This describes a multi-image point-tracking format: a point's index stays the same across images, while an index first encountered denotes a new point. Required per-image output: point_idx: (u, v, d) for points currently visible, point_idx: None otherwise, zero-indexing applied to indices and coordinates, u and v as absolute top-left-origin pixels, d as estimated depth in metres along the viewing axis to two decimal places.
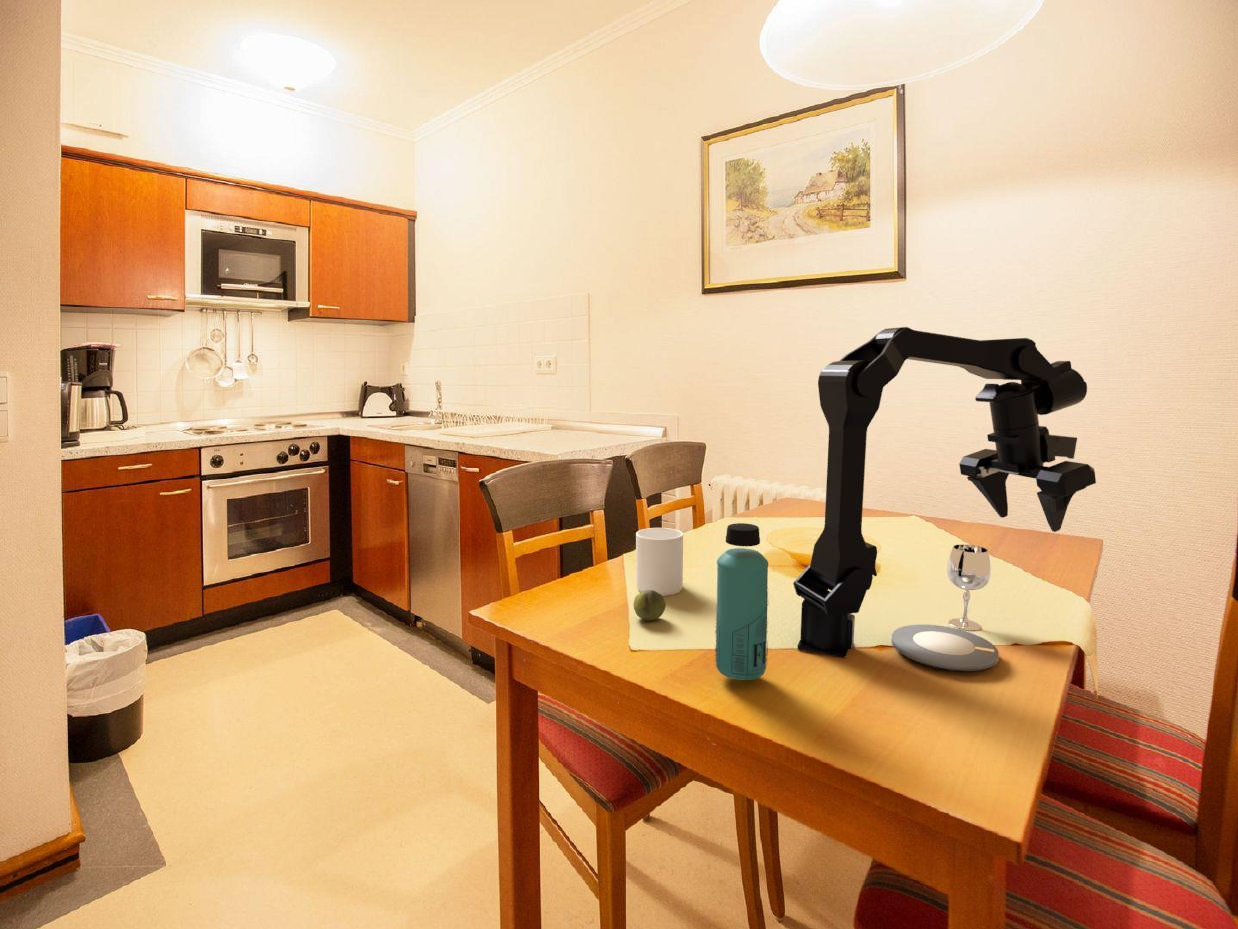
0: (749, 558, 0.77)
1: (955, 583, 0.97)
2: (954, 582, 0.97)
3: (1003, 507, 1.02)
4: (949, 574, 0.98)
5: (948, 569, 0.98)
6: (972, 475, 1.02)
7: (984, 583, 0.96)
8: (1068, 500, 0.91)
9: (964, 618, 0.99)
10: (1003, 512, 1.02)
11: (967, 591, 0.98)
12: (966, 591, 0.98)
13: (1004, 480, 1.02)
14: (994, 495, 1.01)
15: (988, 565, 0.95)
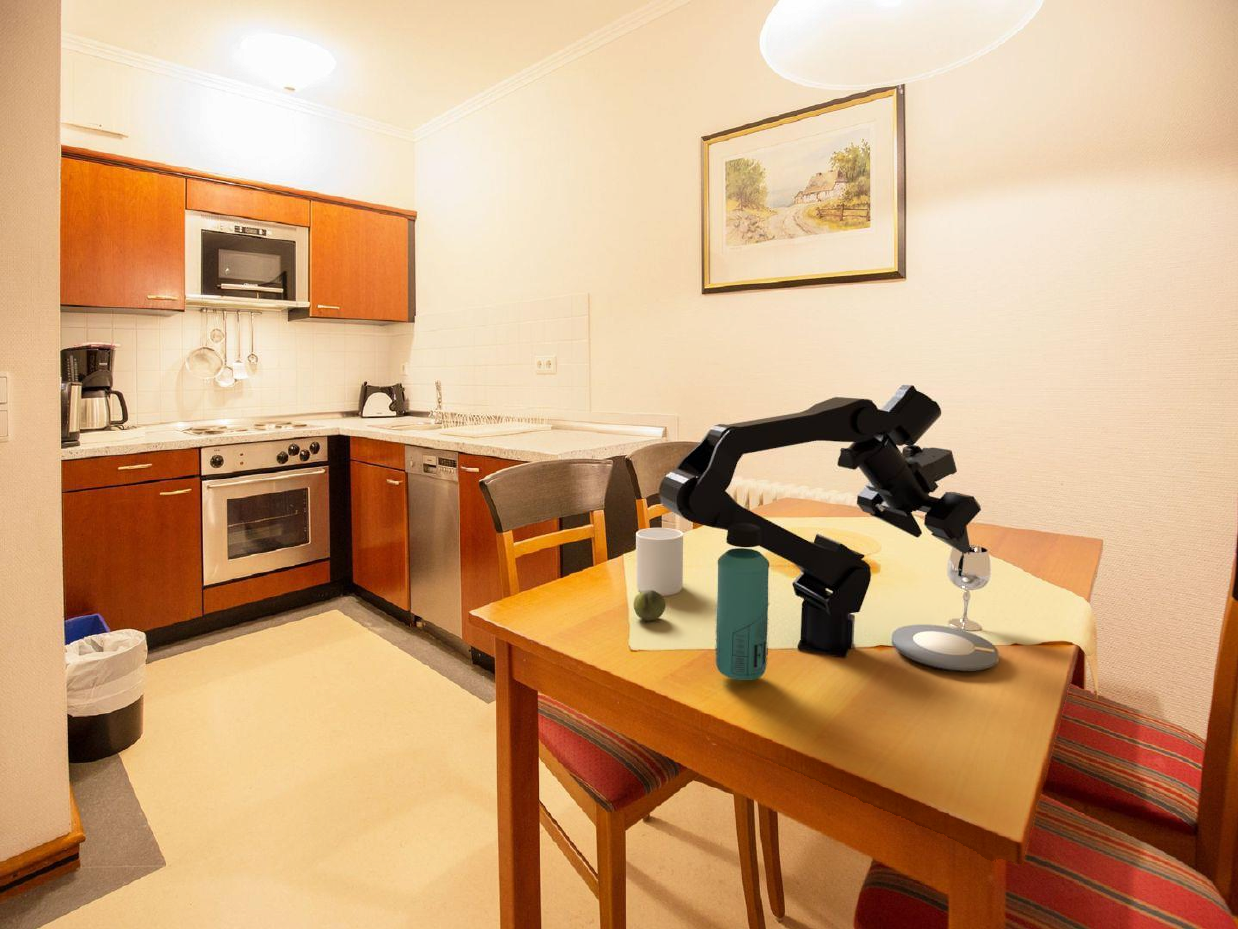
0: (750, 559, 0.77)
1: (955, 583, 0.97)
2: (954, 582, 0.97)
3: (914, 529, 0.99)
4: (949, 574, 0.98)
5: (948, 569, 0.98)
6: (872, 513, 0.99)
7: (984, 583, 0.96)
8: None
9: (964, 618, 0.99)
10: (916, 532, 0.99)
11: (967, 591, 0.98)
12: (966, 591, 0.98)
13: None
14: (901, 522, 0.99)
15: (988, 565, 0.95)
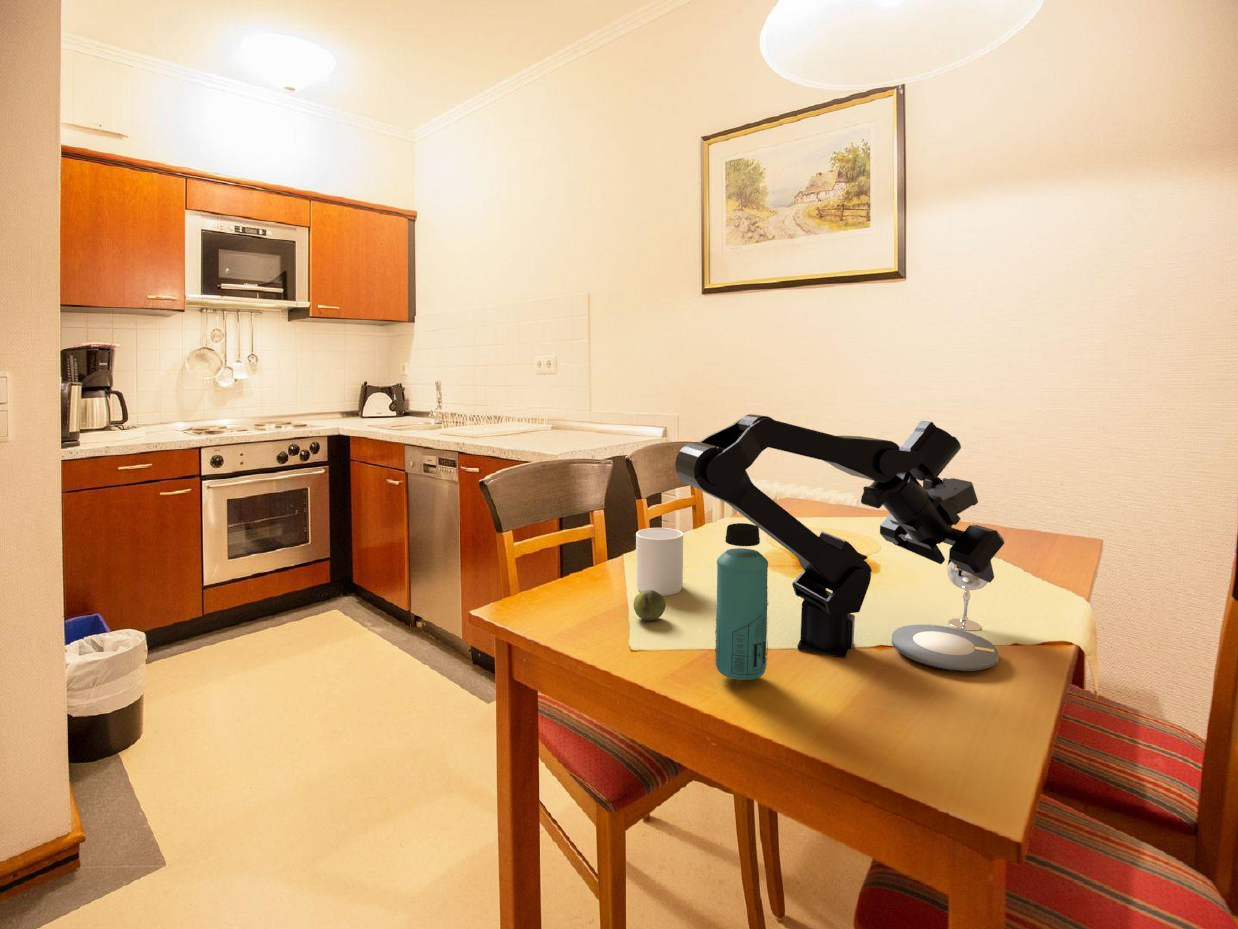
0: (749, 558, 0.77)
1: (955, 583, 0.97)
2: (954, 582, 0.97)
3: (937, 556, 1.01)
4: (949, 574, 0.98)
5: (948, 569, 0.98)
6: (896, 543, 1.01)
7: (984, 583, 0.96)
8: None
9: (964, 618, 0.99)
10: (940, 559, 1.02)
11: (967, 591, 0.98)
12: (966, 591, 0.98)
13: None
14: (924, 551, 1.01)
15: None
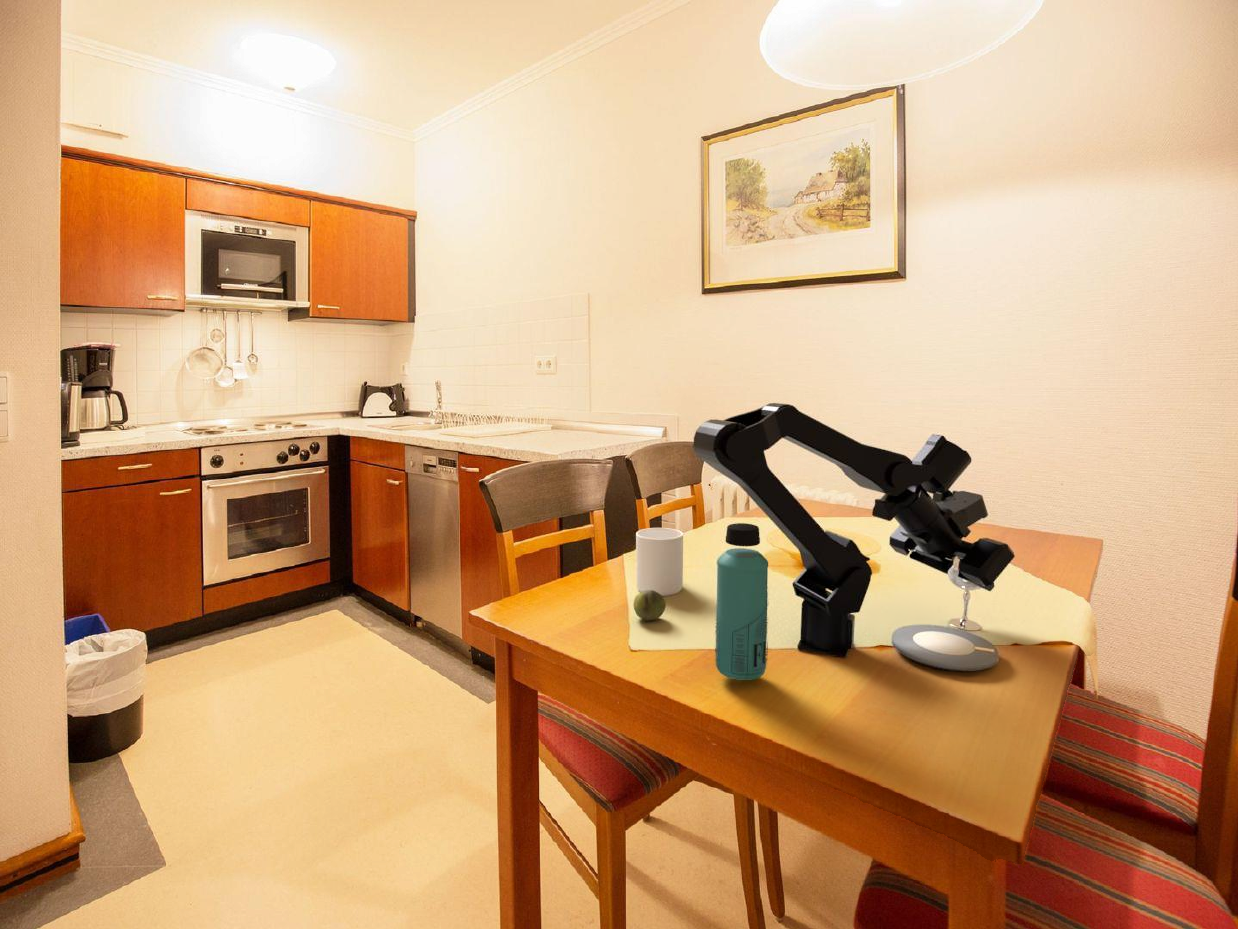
0: (749, 558, 0.77)
1: (955, 583, 0.97)
2: (954, 582, 0.97)
3: None
4: (949, 574, 0.98)
5: (948, 569, 0.98)
6: (905, 554, 1.02)
7: None
8: None
9: (964, 618, 0.99)
10: None
11: (967, 591, 0.98)
12: (966, 591, 0.98)
13: None
14: (941, 565, 1.00)
15: None
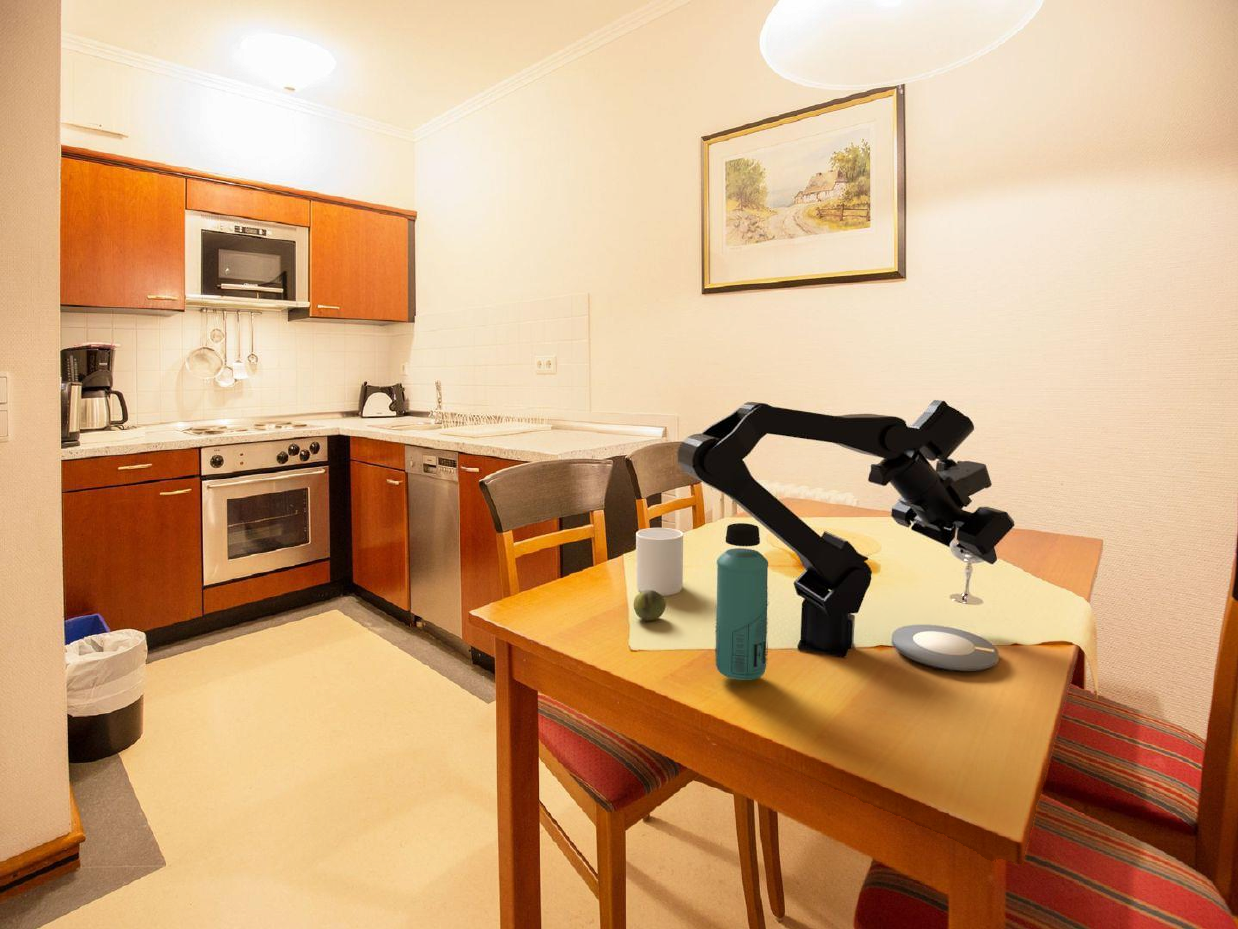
0: (749, 558, 0.77)
1: (956, 555, 0.94)
2: (955, 554, 0.95)
3: None
4: (951, 546, 0.95)
5: (950, 541, 0.96)
6: (907, 526, 0.99)
7: None
8: None
9: (966, 592, 0.96)
10: None
11: (969, 564, 0.95)
12: (968, 564, 0.95)
13: None
14: (943, 538, 0.97)
15: None
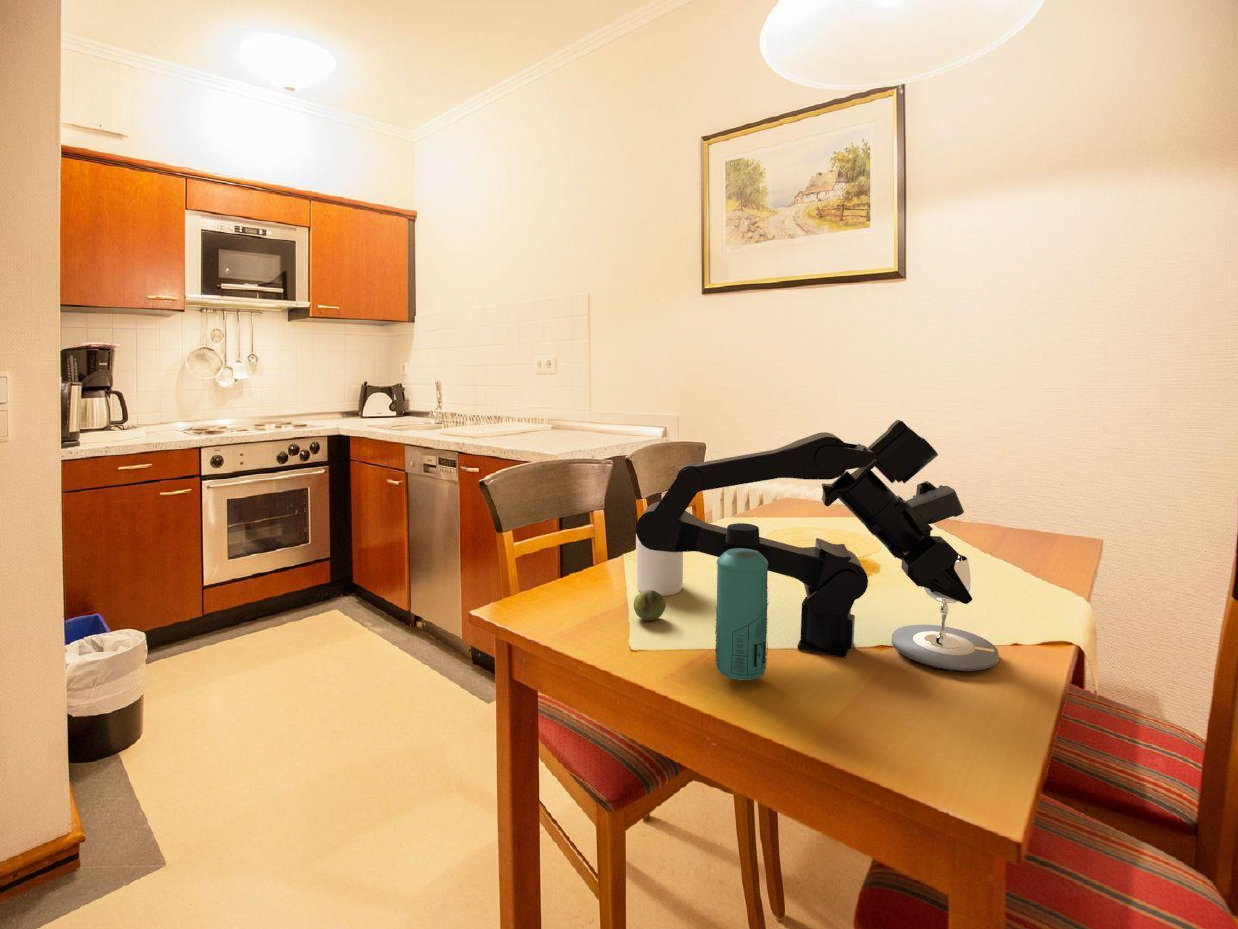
0: (749, 558, 0.77)
1: (926, 592, 0.88)
2: None
3: None
4: None
5: None
6: None
7: None
8: (953, 574, 0.81)
9: (940, 634, 0.89)
10: None
11: (944, 604, 0.88)
12: (943, 603, 0.88)
13: None
14: None
15: (960, 576, 0.85)
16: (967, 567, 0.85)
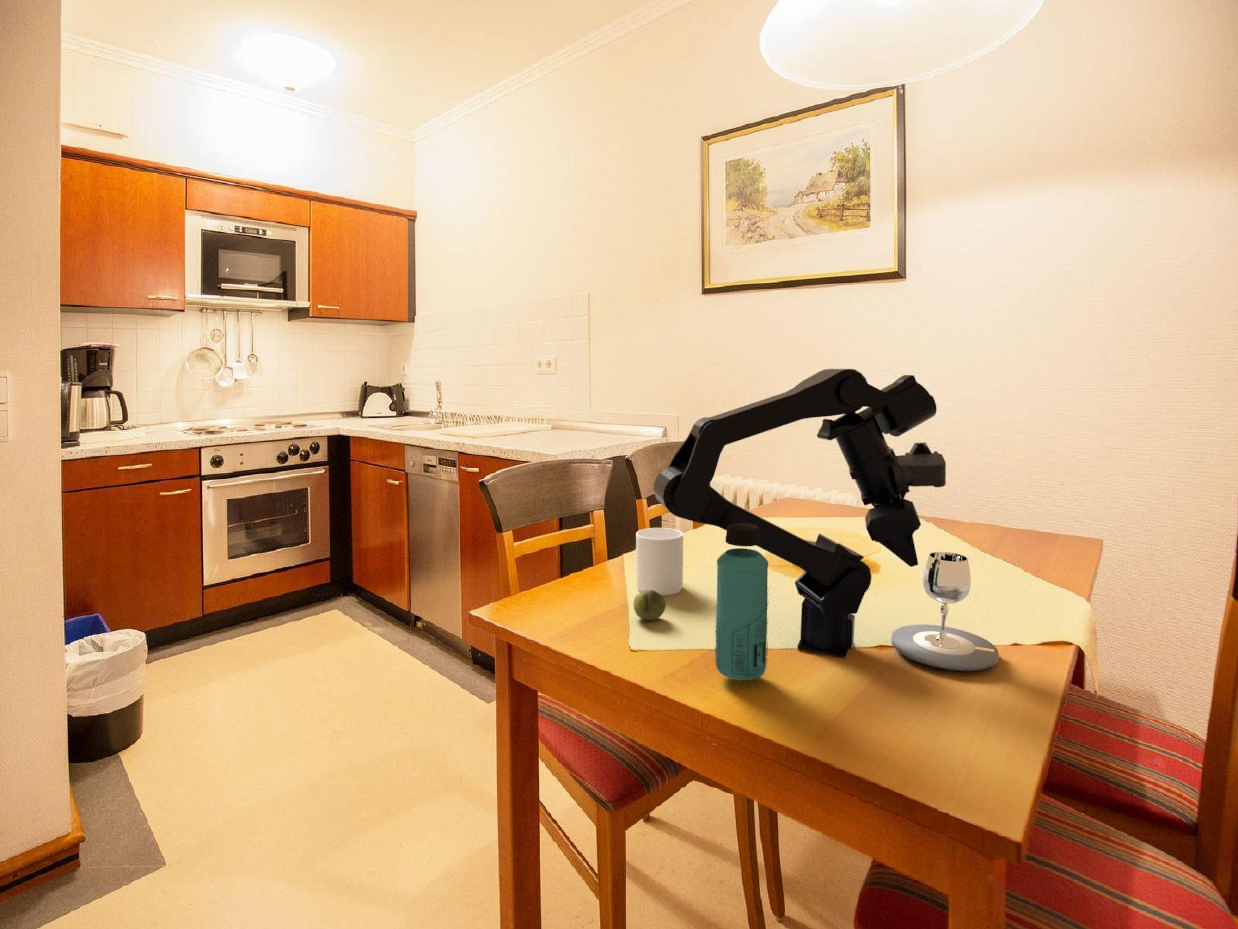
0: (749, 558, 0.77)
1: (926, 592, 0.88)
2: None
3: None
4: None
5: None
6: None
7: (954, 596, 0.85)
8: (909, 538, 0.85)
9: (940, 634, 0.89)
10: None
11: (944, 604, 0.88)
12: (943, 603, 0.88)
13: (901, 498, 0.94)
14: None
15: (960, 577, 0.85)
16: (967, 567, 0.85)
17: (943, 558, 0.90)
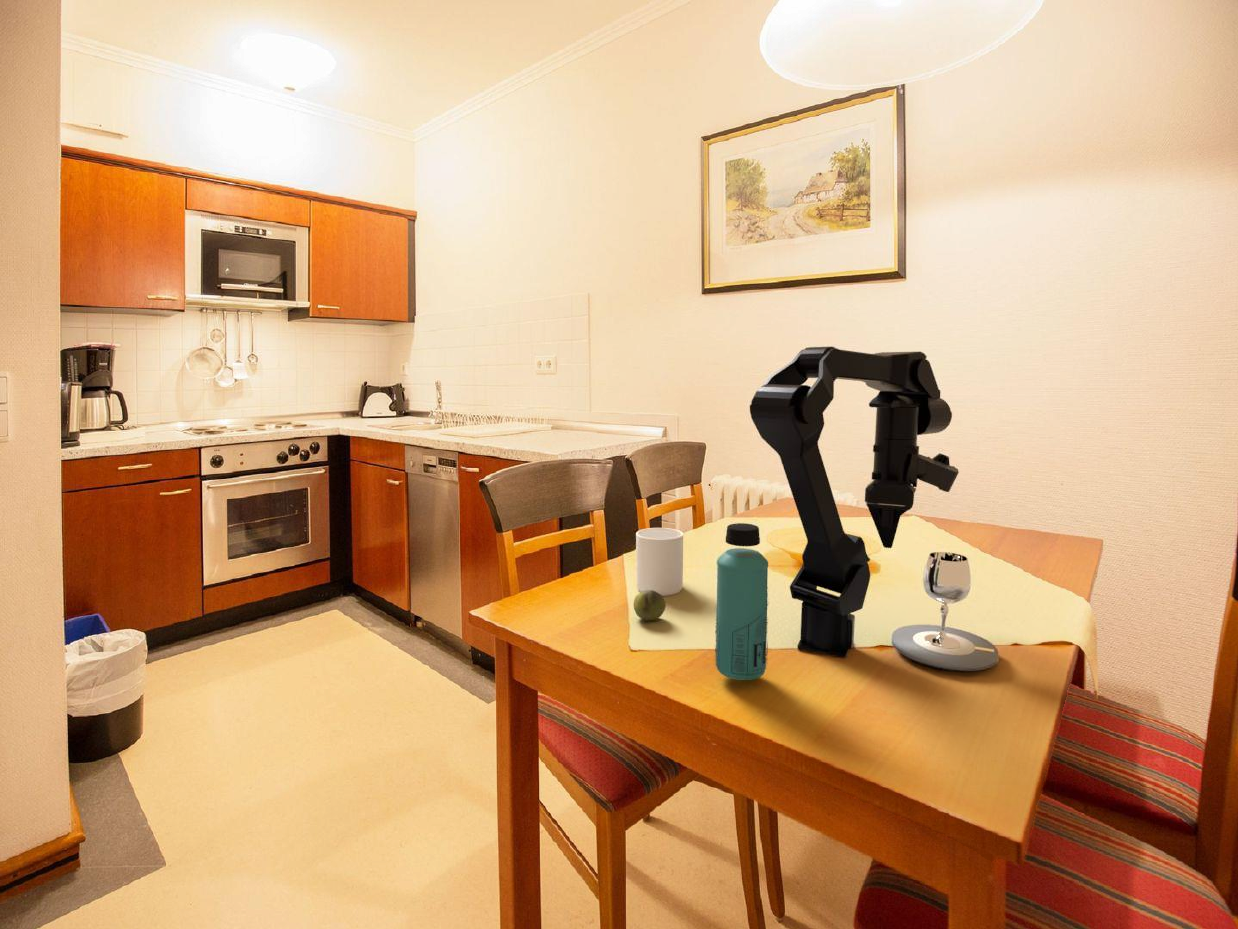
0: (749, 558, 0.77)
1: (926, 592, 0.88)
2: None
3: None
4: None
5: None
6: None
7: (954, 596, 0.85)
8: (896, 519, 0.92)
9: (940, 634, 0.89)
10: None
11: (944, 604, 0.88)
12: (943, 603, 0.88)
13: None
14: None
15: (960, 577, 0.85)
16: (967, 567, 0.85)
17: (943, 558, 0.90)
